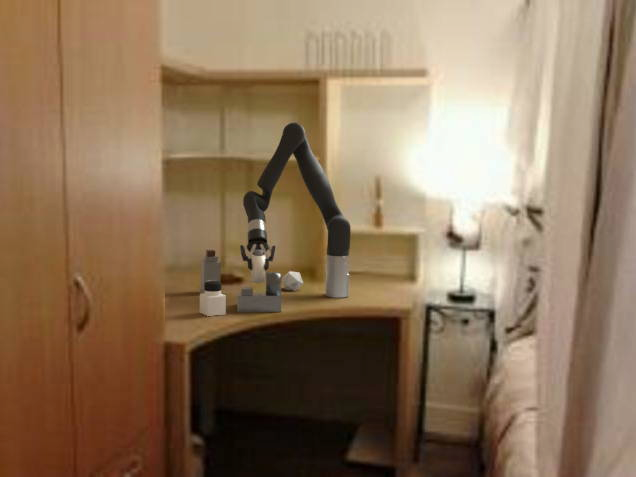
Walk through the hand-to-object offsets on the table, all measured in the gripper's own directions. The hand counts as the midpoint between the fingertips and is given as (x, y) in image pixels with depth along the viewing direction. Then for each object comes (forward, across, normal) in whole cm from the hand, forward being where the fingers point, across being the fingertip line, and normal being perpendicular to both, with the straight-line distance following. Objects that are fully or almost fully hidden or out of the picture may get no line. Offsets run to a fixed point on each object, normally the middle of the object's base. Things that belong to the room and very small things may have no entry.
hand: (258, 268), depth 245 cm
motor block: (+11, 0, +10) cm, 15 cm away
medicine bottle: (+18, -17, +4) cm, 25 cm away
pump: (+2, 0, +5) cm, 5 cm away
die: (-13, +17, +34) cm, 40 cm away
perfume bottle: (-7, -18, +29) cm, 35 cm away
